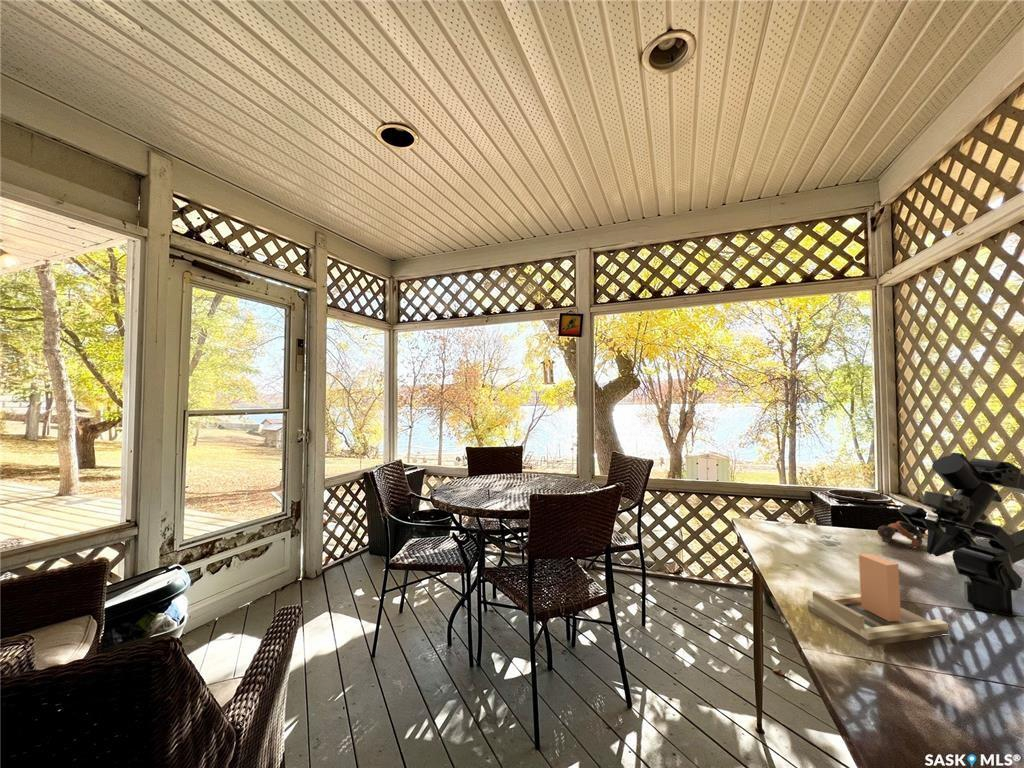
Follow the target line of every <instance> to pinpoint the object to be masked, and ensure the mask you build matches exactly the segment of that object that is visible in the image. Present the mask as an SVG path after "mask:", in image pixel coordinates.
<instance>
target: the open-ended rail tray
mask: <svg viewBox="0 0 1024 768" xmlns="http://www.w3.org/2000/svg"><path fill="white" fill-rule="evenodd" d="M900 608H901V620H899V621H891V622H889V621H887V620H885V619H883V618H881V617H879V616H877V615H875V614H873V613H871V612H869V611H867V610H865V609H863V608H862V607H861V592H860V593H853V594H844V595H832V596H827V595H825V594H823V593H821V592H820V591H817V590H815V591H812V598H807V610H808V611H809V612H810V613H813V614H814V615H816V616H818V617H819V618H821V619H823V620H824V621H825V622H827V623H830V625H833V626H834V627H836V628H837V629H839V630H841V631H842V632H844V633H846V634H848V635H849V636H851V637H853V638H855V639H856V640H858V641H860V642H861V643H863V644H865V645H866V646H867V647H868V646H877V645H885V644H893V643H900V642H908V641H916V640H922V639H921V638H924V639H926V638H925V637H930V636H934V635H942V634H948V635H949V624H948V622H946V621H944V620H942V619H938V618H937V619H931V620H928V619H927V618H924V617H922V616H920V615H918V614H916V613H914V612H913V611H912V612H911V611H909V610H907V609H906V608H903V607H901V606H900Z"/></svg>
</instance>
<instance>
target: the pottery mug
mask: <svg viewBox="0 0 1024 768" xmlns="http://www.w3.org/2000/svg"><path fill="white" fill-rule="evenodd" d="M876 531H877V534H878V536H880V537H881V541H882V542H889V543H890V542H891V540H892V539H893V536H894V535H895V533H898V534H901V536H904V537H906V538H907V539H909V540H910V541H911V543H910V545H909V547H910V548H911V547H916V548H918V546H921V545H922V544H923V538H925V537H924V535H923V533H922V532H921V530H919V528H918V527H914V526H913V525H911V524H910V523H909V522H905V521H901V520H897V521H896V522H893V523H889V524H887V525H883V524H882V525H881V526H879V527H878V528H877V529H876ZM896 531H897V532H896ZM910 531H911V532H910ZM915 536H916V537H915Z"/></svg>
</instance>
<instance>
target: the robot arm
mask: <svg viewBox="0 0 1024 768" xmlns="http://www.w3.org/2000/svg"><path fill="white" fill-rule="evenodd" d="M931 468H932V470H933V471H934V472H935V473H936V475H937V476H938V477H939V478H940V479H942V481H943V482H944V483H945V484H946V485H947V486H948V487H949V488H950V489H953V490H954V492H953V494H951V495H948V494H944V493H939V492H935V491H929V490H925V491H924V494H923V497H922V500H921V505H925V506H927V507H931V512H932V513H933V514H931V513H928V512H927V511H926V510H925V509H924V508H923V507H919V506H915V505H912V504H911V505H910V504H903V505H901V507H900V508H899V509H898V512H899V514H900V515H901V516H902V517H903V518H904V519H905V520H906V521H907V523H908V524H910V525H912V526H914V527H915V528H917V529H922V530H927V543H926V553H927V554H928V555H933V556H934V557H939V556H942V555H945V554H948V553H950V552H952V557H951V558H952V560H953V563H954V566H955V568H956V570H957V571H956V572H957V574H958V575H961V576H962V575H963V576H965V577H966V580H965V581H964V582H963V586H964V587H963V589H964V590H963V591H964V599H965V600H966V601H967V603H969V605H970V606H971V607H972V609H975V610H977V611H983V612H988V613H992V614H993V613H994V614H999V615H1001V616H1008V617H1013V618H1015V617H1017V614H1016V613H1015V611H1014V609H1013V597H1012V596H1013V595H1012V591H1019V589H1021V588H1022V585H1023V584H1022V582H1023V578H1022V577H1021V576H1020V575H1019V574H1018V573H1017V572H1016V571H1015V570H1014V564H1015V563H1017V562H1020V561H1022V560H1024V528H1023V529H1021V530H1018V531H1015V532H1013V533H1011V534H1008V533H1007V531H1006V530H1004V528H1003V527H1002V526H1000V525H997V524H996V525H995V524H991V523H988V522H985V521H986V519H987V518H988V517H987V515H986V514H985V512H986V510H987V509H988V508H989V506H990V505H991V503H992V502H995V503H996V502H997V503H1001V502H1002V497H1001V495H1000V493H999V490H997V489H995V488H994V487H993V486H999V487H1004V488H1006V489H1009V490H1011V491H1013V492H1017V493H1018V494H1019V493H1020V494H1022V495H1024V474H1023V473H1022V469H1021V468H1020V467H1018V466H1016V465H1015V464H1013V463H1011V462H1010V461H1009V462H1008V461H1002V460H991V459H984V458H983V459H982V458H971V459H970V460H969V459H968V458H967V456H966V455H965V454H964V453H960V452H952V453H950V455H946V456H942V457H939V458H938V459H935V460H934V461H933V462H932V464H931ZM992 485H993V486H992ZM980 520H981V521H980ZM983 521H984V522H983ZM981 538H983V539H987V540H989V541H985V540H982V539H981Z"/></svg>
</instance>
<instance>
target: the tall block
mask: <svg viewBox="0 0 1024 768" xmlns="http://www.w3.org/2000/svg"><path fill="white" fill-rule="evenodd" d="M858 564H859V583H860V584H859V585H860V587H859V588H860V593H861V607H862V608H863V609H865V610H867V611H869V612H871V613H873V614H875V615H877V616H879V617H881V618H883V619H885V620H887V621H889V622H891V621H899V620H901V608H902V607H901V594H900V591H901V589H900V576H899V575H900V573H899V564H898V563H896V562H894V561H891V560H888V559H886V558H883V557H880V556H878V555H875V554H872V553H862V554H858ZM900 607H901V608H900Z"/></svg>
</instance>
